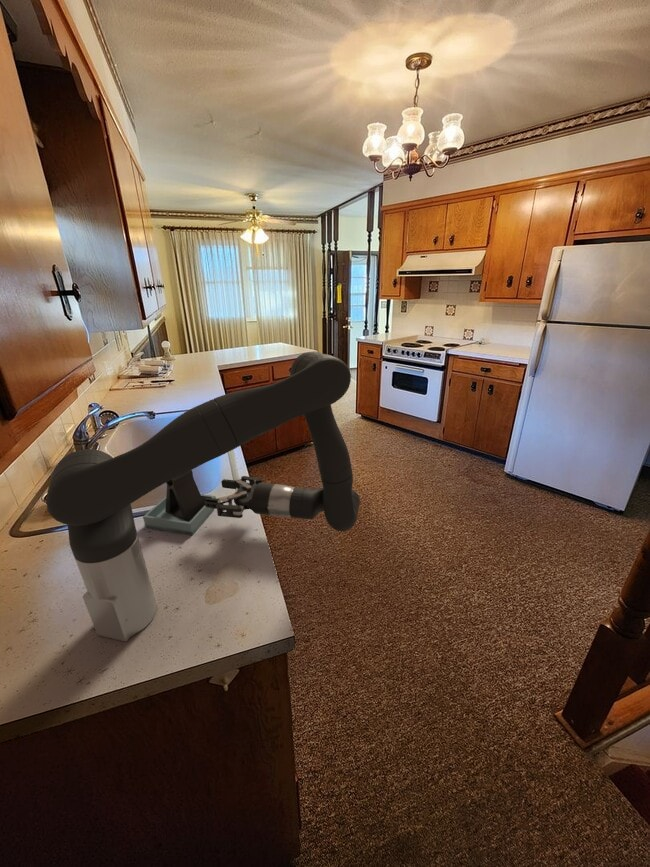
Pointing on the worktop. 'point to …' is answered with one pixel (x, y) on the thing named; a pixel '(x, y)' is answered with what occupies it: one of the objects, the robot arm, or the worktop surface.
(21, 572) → the worktop surface
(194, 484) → the phone stand
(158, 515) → the slate tray
